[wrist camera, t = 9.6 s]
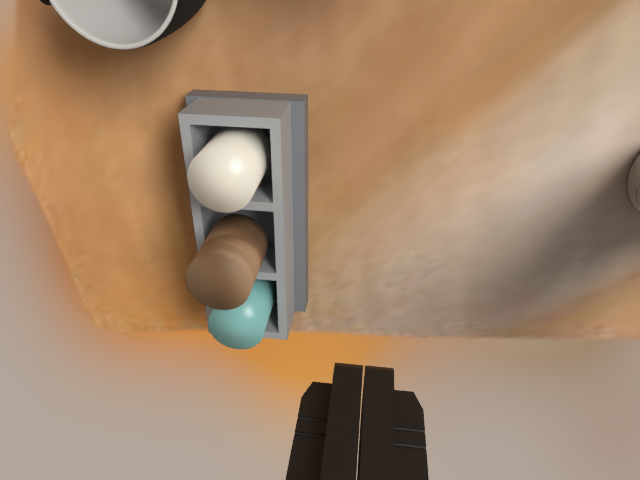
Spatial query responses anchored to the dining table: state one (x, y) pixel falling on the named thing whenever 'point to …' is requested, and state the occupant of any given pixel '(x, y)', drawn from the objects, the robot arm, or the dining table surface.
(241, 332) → the teal rounded cylinder
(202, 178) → the white rounded piece
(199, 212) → the grey compartment tray
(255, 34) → the dining table surface
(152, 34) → the mug
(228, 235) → the brown rounded cylinder
